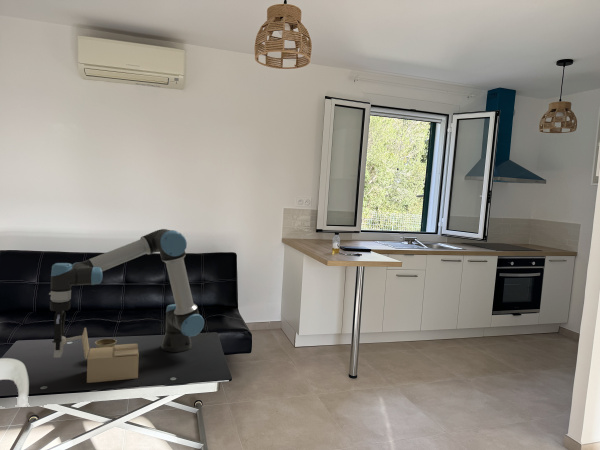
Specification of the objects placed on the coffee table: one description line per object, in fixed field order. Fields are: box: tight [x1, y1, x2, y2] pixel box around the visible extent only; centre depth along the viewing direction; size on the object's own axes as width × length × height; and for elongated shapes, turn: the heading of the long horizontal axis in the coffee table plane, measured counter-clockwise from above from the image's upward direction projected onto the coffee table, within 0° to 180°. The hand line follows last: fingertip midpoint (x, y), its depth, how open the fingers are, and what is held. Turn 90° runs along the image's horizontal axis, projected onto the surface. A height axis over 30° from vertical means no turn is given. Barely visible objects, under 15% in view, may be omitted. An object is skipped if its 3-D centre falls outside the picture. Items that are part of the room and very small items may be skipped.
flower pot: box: [94, 338, 118, 348], centre depth 209 cm, size 9×9×9 cm
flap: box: [61, 327, 90, 360], centre depth 186 cm, size 10×14×11 cm
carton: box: [86, 343, 140, 384], centre depth 192 cm, size 20×14×11 cm
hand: (58, 355), depth 184 cm, fingers closed on flap, 4 cm apart
